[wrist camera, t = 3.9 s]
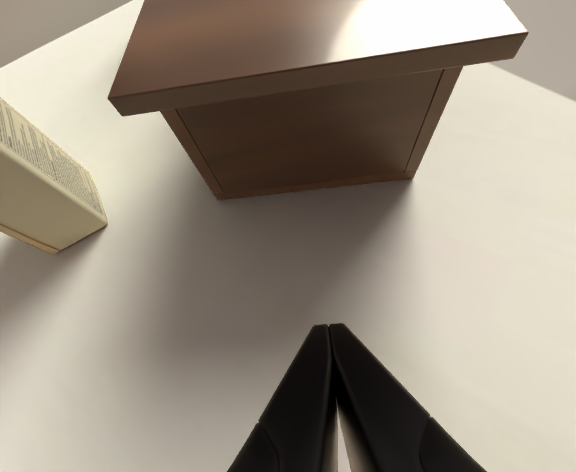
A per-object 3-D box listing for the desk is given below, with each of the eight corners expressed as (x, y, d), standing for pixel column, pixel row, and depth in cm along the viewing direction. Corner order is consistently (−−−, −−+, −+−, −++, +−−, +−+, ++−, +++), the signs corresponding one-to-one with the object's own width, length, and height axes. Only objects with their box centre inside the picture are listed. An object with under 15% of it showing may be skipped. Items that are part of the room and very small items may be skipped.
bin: (413, 178, 18) (484, 19, 10) (217, 200, 20) (136, 76, 11) (386, 90, 22) (420, -75, 14) (224, 113, 24) (169, -25, 15)
